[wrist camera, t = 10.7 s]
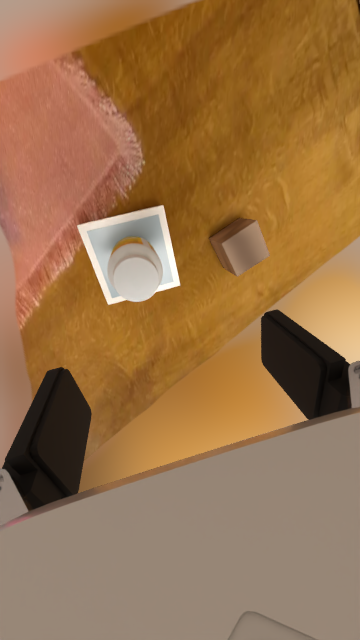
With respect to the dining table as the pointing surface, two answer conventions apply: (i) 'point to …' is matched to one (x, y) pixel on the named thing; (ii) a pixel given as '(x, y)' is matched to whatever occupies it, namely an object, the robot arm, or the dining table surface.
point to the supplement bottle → (134, 269)
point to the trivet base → (137, 223)
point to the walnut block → (240, 246)
